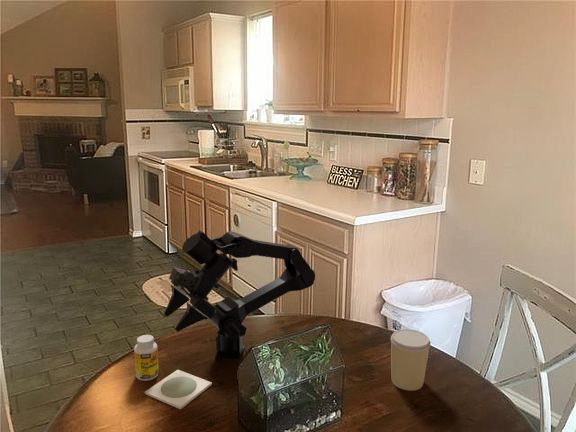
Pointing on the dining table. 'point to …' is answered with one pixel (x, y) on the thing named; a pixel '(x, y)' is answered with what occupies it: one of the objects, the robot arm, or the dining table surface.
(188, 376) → the card
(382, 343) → the dining table surface
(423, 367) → the coffee cup
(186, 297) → the robot arm
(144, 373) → the supplement bottle
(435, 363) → the dining table surface
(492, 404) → the dining table surface
